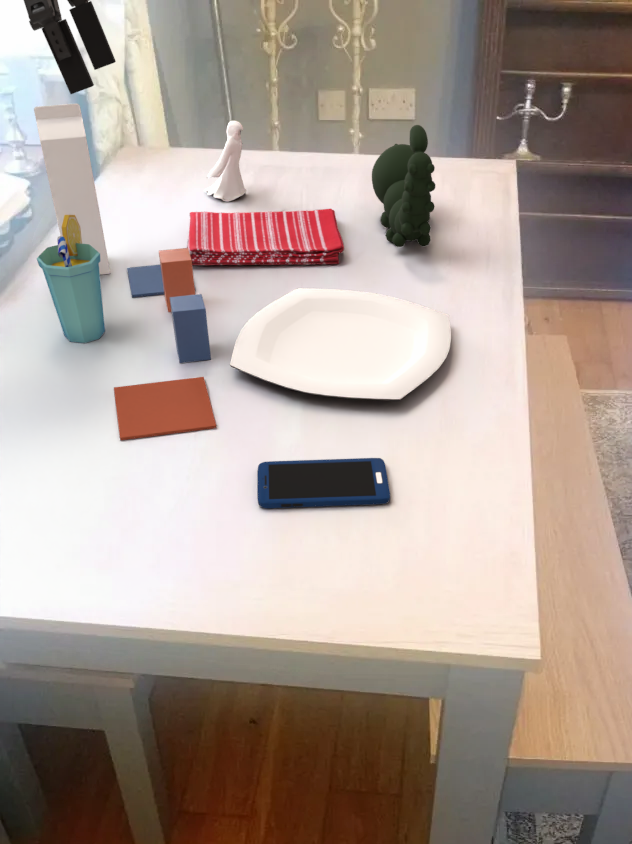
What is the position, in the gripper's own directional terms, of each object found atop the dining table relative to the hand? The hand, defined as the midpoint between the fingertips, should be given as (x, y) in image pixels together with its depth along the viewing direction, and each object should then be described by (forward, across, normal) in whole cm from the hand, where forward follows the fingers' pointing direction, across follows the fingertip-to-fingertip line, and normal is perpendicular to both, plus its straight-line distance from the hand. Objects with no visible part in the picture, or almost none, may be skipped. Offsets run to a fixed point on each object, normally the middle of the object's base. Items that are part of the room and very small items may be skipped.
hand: (94, 77), depth 105 cm
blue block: (+31, -11, -1) cm, 33 cm away
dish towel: (+31, +23, -9) cm, 39 cm away
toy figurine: (+37, +28, -30) cm, 55 cm away
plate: (+37, -10, -19) cm, 43 cm away
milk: (+24, +14, +16) cm, 32 cm away
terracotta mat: (+31, -24, +2) cm, 39 cm away
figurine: (+27, +42, -2) cm, 51 cm away
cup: (+26, -6, +14) cm, 30 cm away
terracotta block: (+29, +3, +2) cm, 29 cm away
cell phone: (+38, -39, -16) cm, 56 cm away
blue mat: (+27, +10, +6) cm, 30 cm away
